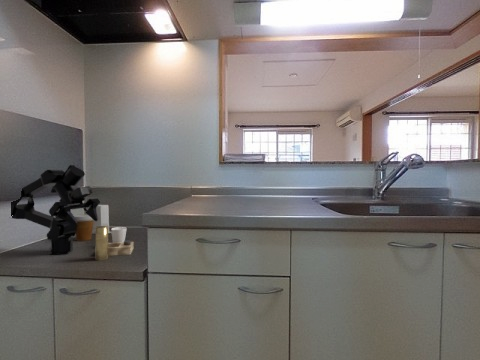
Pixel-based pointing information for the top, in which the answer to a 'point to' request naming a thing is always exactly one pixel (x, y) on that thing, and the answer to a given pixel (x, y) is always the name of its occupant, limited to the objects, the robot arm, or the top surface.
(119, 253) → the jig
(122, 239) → the cup
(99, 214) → the skincare box
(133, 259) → the top surface
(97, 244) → the tan piece
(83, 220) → the disposable coffee cup
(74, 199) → the robot arm
